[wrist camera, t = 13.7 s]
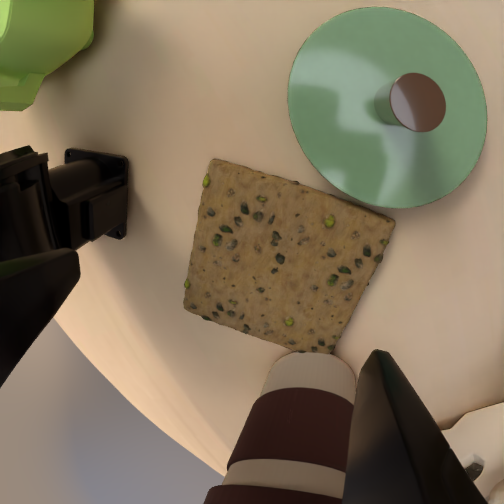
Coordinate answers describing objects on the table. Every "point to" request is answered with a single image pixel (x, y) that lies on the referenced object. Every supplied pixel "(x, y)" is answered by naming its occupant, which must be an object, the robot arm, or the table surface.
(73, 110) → the table surface
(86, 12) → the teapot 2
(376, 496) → the robot arm
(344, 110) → the lid
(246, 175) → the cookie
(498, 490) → the bust
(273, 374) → the coffee cup
